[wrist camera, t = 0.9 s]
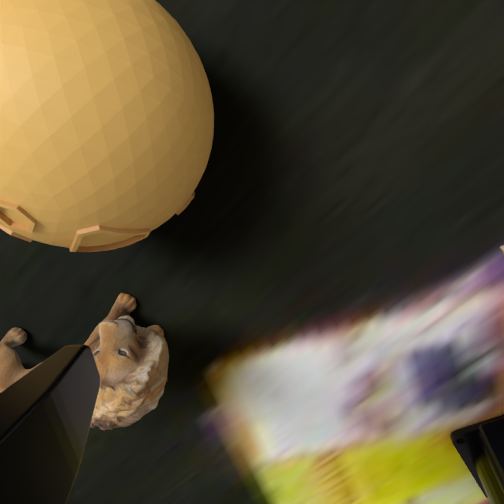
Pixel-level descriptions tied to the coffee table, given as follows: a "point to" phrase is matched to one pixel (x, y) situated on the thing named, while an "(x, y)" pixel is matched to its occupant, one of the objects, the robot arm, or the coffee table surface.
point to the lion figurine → (111, 365)
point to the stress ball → (98, 121)
